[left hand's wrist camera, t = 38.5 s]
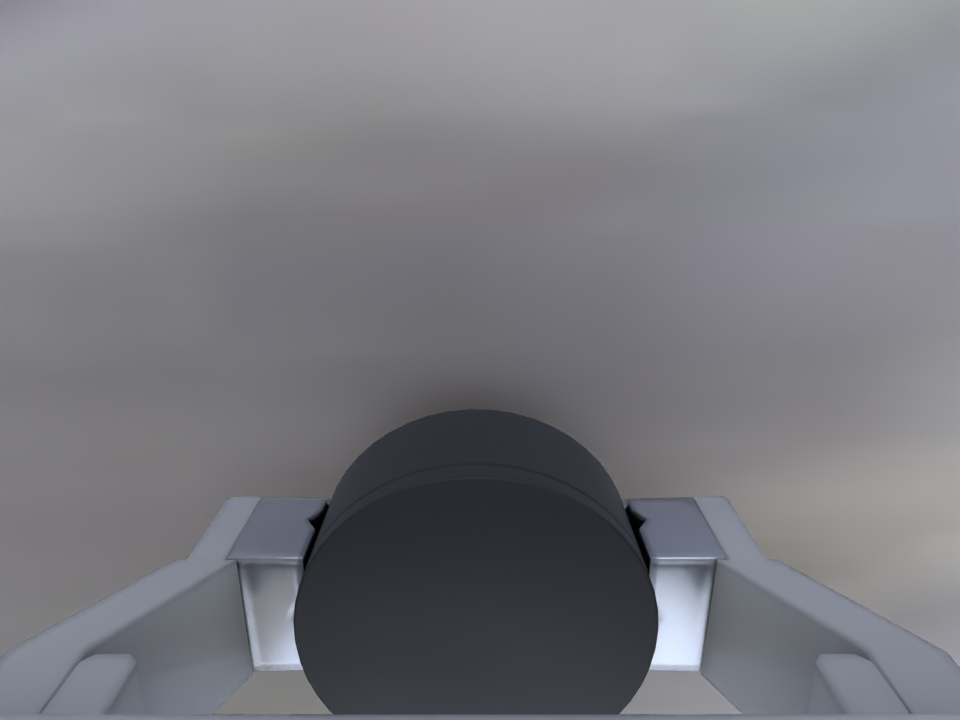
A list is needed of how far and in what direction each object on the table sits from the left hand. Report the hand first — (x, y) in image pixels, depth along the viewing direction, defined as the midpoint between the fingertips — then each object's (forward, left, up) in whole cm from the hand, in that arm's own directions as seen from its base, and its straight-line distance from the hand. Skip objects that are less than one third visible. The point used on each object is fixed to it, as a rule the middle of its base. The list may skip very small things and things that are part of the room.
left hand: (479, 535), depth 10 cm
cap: (0, 0, +2) cm, 2 cm away
